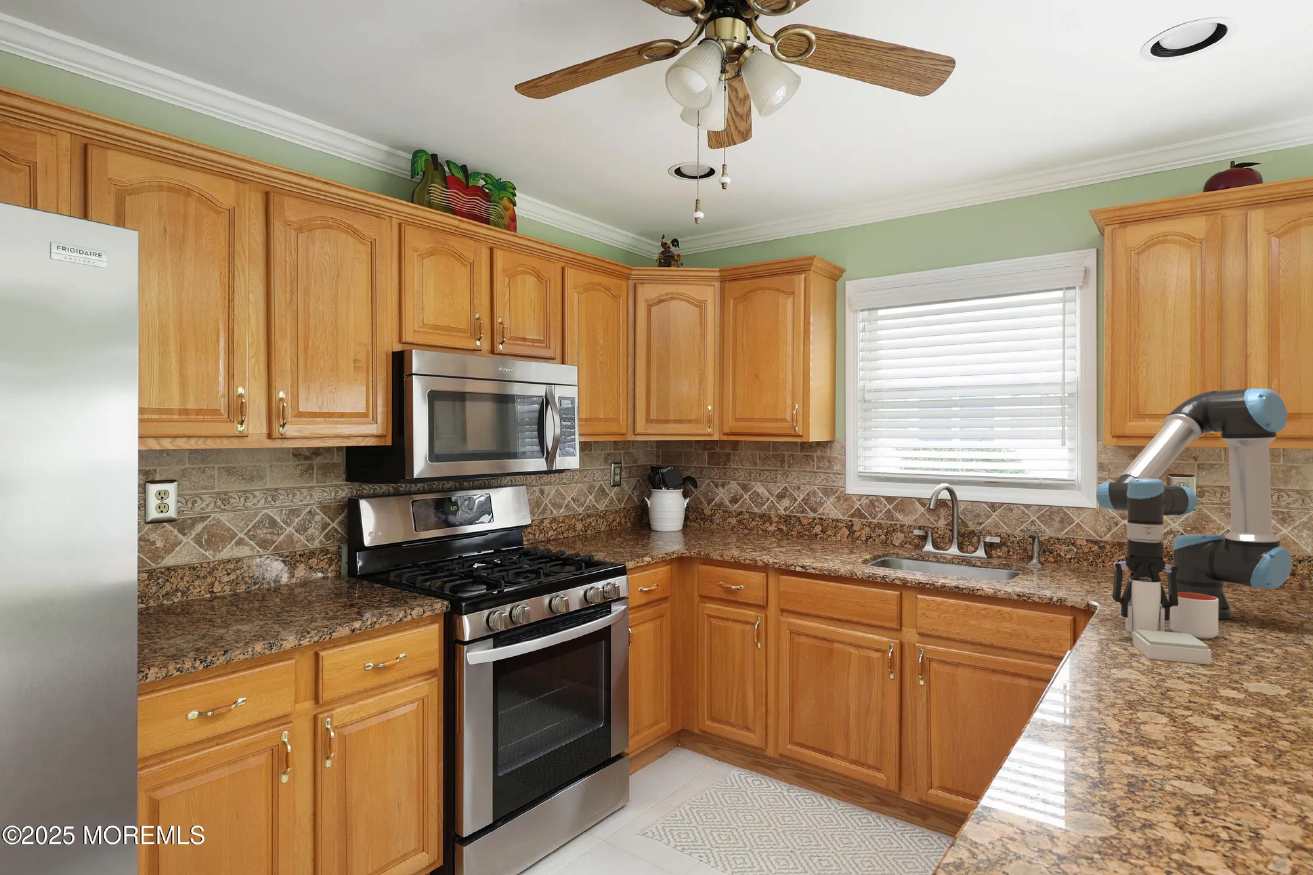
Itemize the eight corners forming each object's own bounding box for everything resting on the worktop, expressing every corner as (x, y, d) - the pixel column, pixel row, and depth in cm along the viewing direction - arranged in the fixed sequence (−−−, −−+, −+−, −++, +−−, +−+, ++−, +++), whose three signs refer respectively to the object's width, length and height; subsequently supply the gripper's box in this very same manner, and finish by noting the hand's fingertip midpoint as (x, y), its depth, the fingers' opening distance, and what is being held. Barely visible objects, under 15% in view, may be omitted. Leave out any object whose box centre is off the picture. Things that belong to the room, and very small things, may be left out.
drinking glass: (1151, 644, 175) (1151, 583, 175) (1122, 637, 181) (1122, 578, 181) (1166, 641, 178) (1167, 580, 178) (1138, 634, 184) (1138, 576, 184)
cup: (1226, 641, 179) (1227, 601, 179) (1181, 638, 181) (1182, 599, 181) (1204, 630, 189) (1205, 593, 189) (1162, 628, 191) (1162, 591, 191)
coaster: (1190, 650, 171) (1191, 633, 171) (1211, 664, 160) (1211, 646, 160) (1132, 644, 175) (1132, 628, 175) (1148, 658, 164) (1148, 641, 164)
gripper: (1104, 540, 179) (1104, 631, 179) (1196, 544, 173) (1195, 639, 173) (1097, 536, 186) (1096, 624, 186) (1184, 540, 180) (1184, 631, 180)
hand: (1144, 631), depth 180 cm, fingers closed on drinking glass, 6 cm apart
